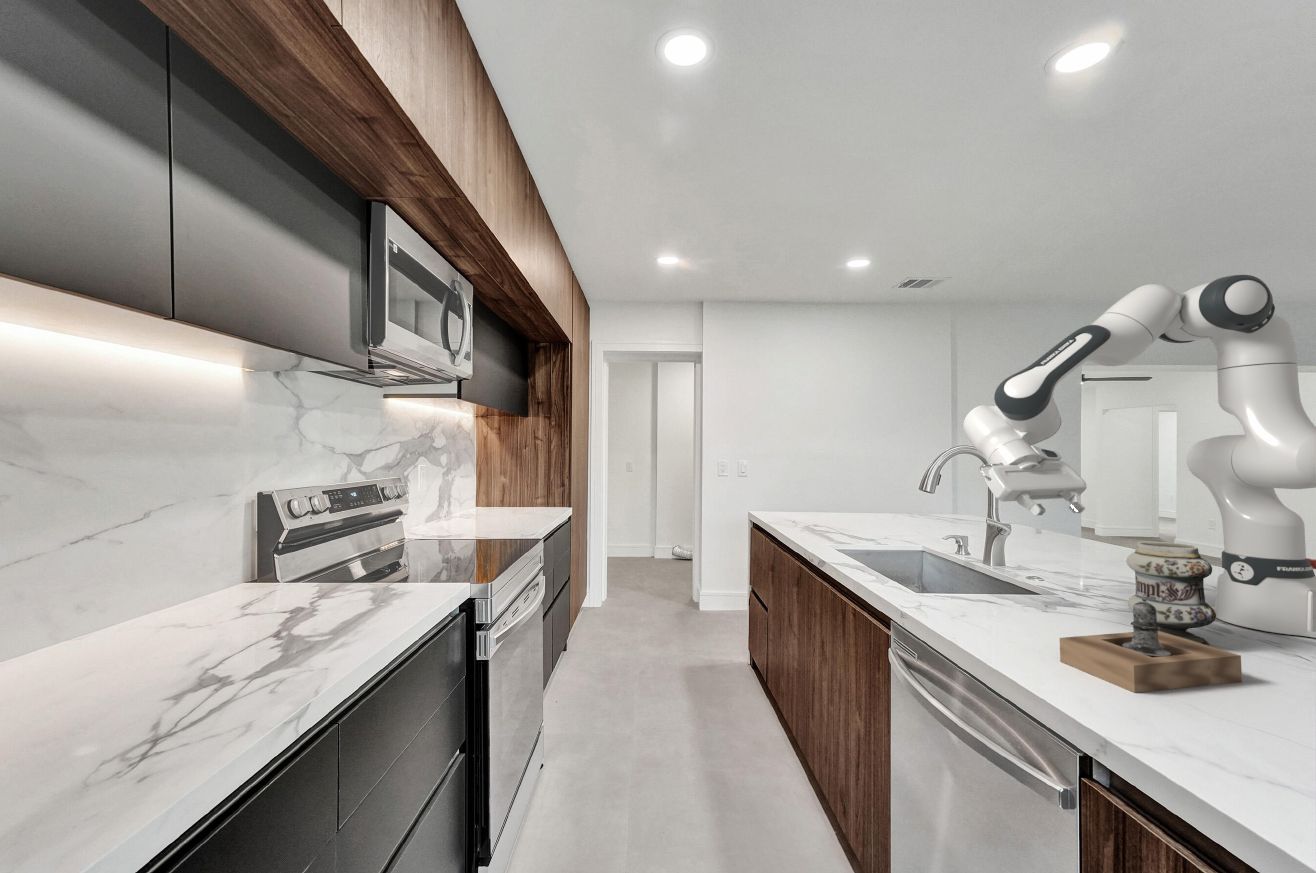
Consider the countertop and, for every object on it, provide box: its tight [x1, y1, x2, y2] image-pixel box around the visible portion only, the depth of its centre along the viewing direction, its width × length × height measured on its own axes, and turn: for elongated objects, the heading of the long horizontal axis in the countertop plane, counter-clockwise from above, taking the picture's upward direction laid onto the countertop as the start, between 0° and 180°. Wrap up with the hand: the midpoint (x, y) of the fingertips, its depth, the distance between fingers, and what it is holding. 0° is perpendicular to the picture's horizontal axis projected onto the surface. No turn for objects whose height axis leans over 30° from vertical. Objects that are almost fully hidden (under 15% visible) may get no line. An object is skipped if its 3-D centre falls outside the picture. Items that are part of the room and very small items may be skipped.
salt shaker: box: [1122, 597, 1171, 657], centre depth 86 cm, size 6×6×12 cm
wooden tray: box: [1059, 631, 1243, 694], centre depth 86 cm, size 20×12×4 cm, turn 100°
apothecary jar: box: [1126, 541, 1217, 646], centre depth 101 cm, size 12×12×18 cm
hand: (1060, 512), depth 106 cm, fingers open, 8 cm apart
